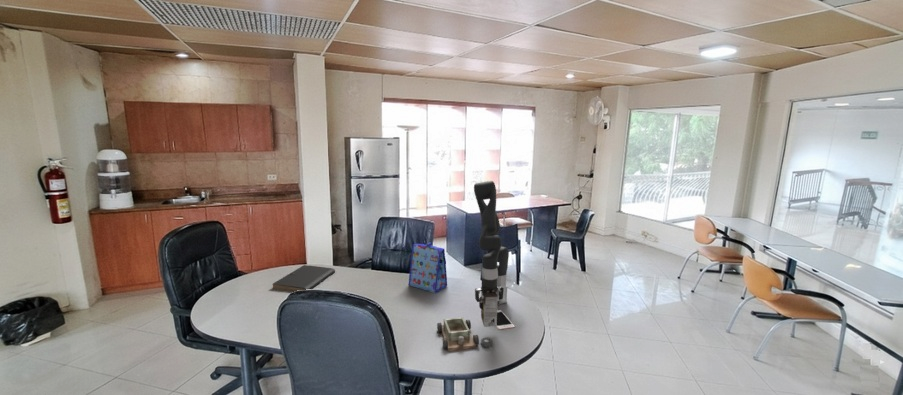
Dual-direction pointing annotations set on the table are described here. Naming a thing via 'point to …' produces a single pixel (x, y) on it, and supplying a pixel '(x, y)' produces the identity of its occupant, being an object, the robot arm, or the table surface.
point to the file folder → (303, 278)
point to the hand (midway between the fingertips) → (488, 308)
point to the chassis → (457, 334)
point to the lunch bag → (428, 268)
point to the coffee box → (489, 309)
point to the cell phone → (503, 321)
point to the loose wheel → (486, 342)
